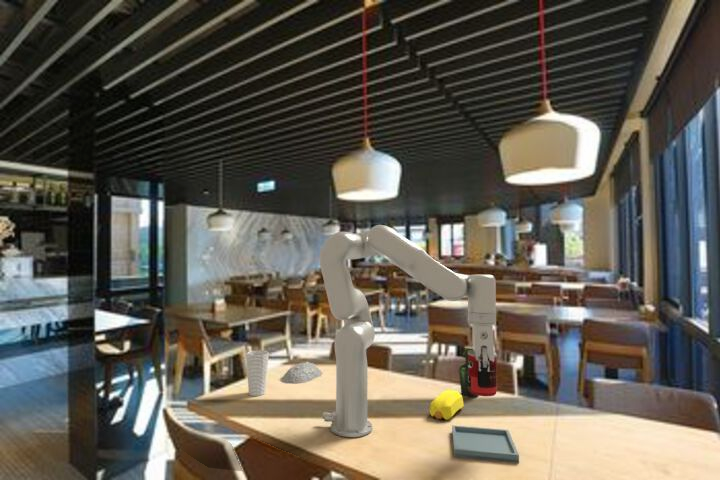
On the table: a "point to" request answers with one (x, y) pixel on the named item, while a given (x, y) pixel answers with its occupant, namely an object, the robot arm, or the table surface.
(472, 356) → the canned food
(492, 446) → the tray
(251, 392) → the cup
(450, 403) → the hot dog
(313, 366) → the grey rock
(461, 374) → the potion bottle
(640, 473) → the table surface
